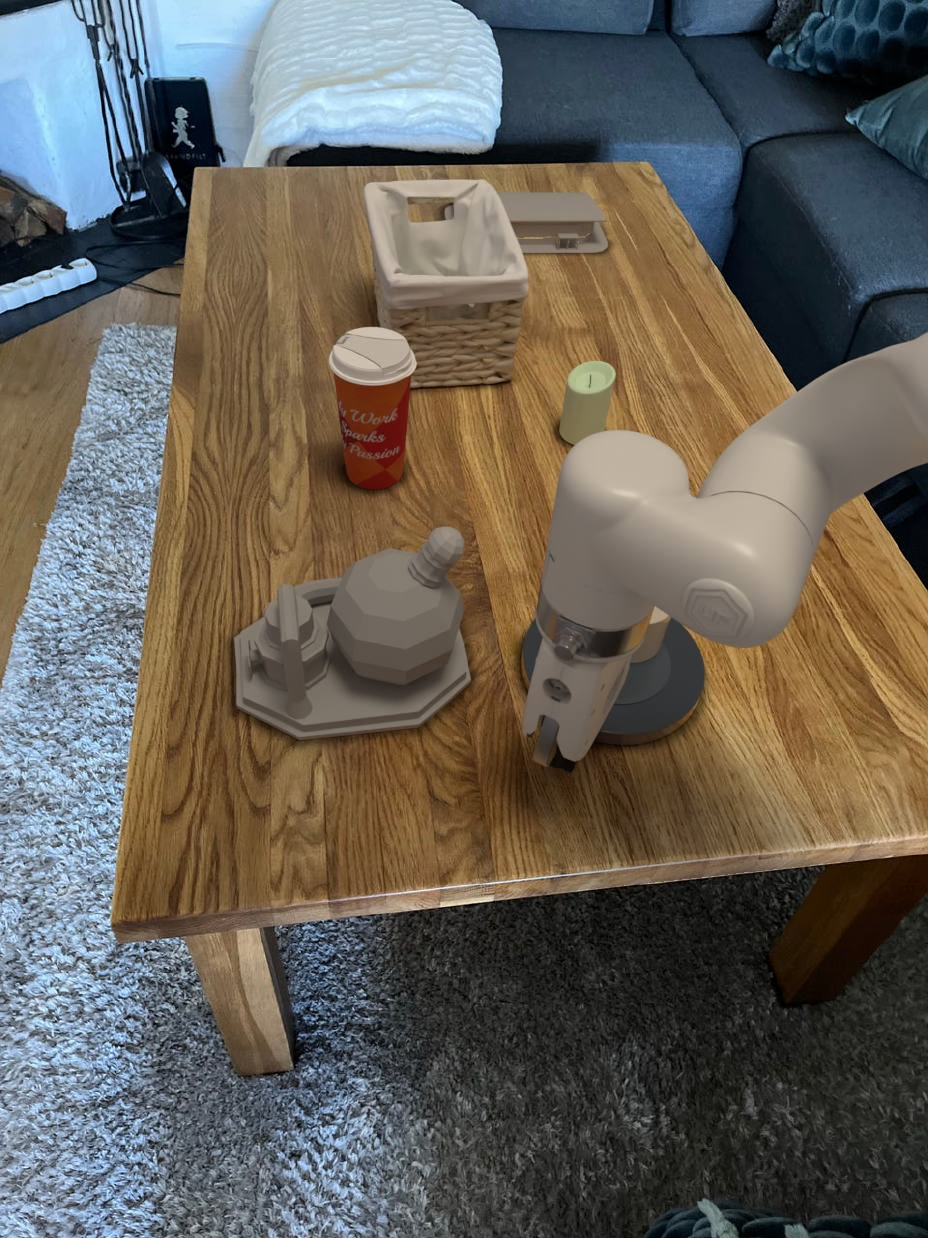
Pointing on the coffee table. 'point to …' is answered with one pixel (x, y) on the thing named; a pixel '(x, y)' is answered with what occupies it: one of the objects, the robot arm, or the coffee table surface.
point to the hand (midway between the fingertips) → (557, 758)
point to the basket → (448, 279)
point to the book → (553, 221)
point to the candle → (586, 400)
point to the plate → (644, 688)
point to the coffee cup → (373, 403)
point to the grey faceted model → (359, 646)
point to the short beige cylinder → (652, 637)
